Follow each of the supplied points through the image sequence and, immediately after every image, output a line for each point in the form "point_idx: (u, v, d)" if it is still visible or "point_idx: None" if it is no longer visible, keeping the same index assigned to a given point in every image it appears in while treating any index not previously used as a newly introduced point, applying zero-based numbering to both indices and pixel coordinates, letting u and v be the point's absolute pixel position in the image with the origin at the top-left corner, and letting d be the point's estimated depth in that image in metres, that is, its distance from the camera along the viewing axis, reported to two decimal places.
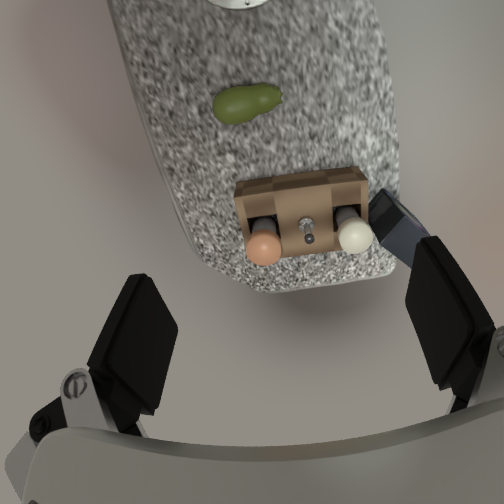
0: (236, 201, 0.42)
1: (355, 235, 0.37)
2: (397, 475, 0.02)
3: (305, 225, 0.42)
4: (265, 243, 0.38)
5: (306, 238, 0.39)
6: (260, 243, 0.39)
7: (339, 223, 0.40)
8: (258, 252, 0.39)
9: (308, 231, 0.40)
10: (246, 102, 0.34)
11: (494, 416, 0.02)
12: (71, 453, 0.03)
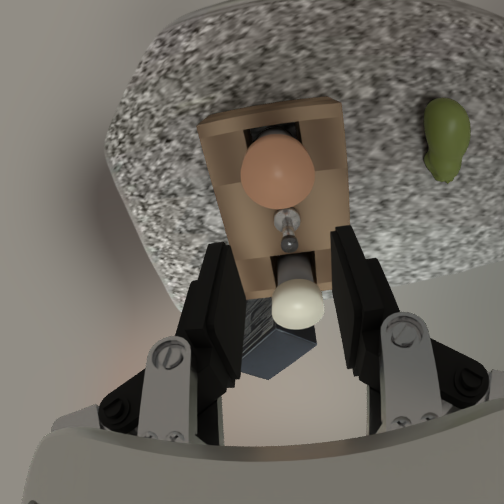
0: (333, 106, 0.20)
1: (306, 310, 0.25)
2: (396, 476, 0.02)
3: (292, 222, 0.25)
4: (299, 180, 0.18)
5: (292, 241, 0.22)
6: (299, 170, 0.17)
7: (300, 271, 0.27)
8: (276, 165, 0.17)
9: (294, 235, 0.24)
10: (459, 148, 0.22)
11: (494, 416, 0.02)
12: (71, 453, 0.03)
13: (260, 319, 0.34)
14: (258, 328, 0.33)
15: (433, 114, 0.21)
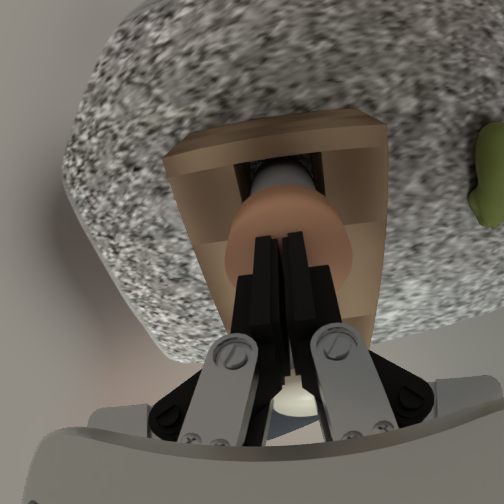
0: (375, 129, 0.13)
1: None
2: (396, 476, 0.02)
3: None
4: None
5: None
6: (327, 257, 0.10)
7: None
8: None
9: None
10: None
11: (494, 416, 0.02)
12: (71, 453, 0.03)
13: None
14: None
15: (492, 146, 0.14)
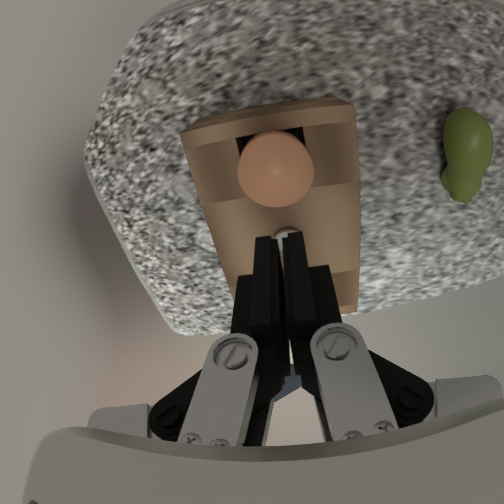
0: (344, 109, 0.16)
1: None
2: (397, 475, 0.02)
3: None
4: (297, 177, 0.17)
5: None
6: (297, 167, 0.17)
7: None
8: (274, 162, 0.17)
9: None
10: (481, 167, 0.18)
11: (494, 416, 0.02)
12: (71, 453, 0.03)
13: None
14: None
15: (455, 128, 0.18)
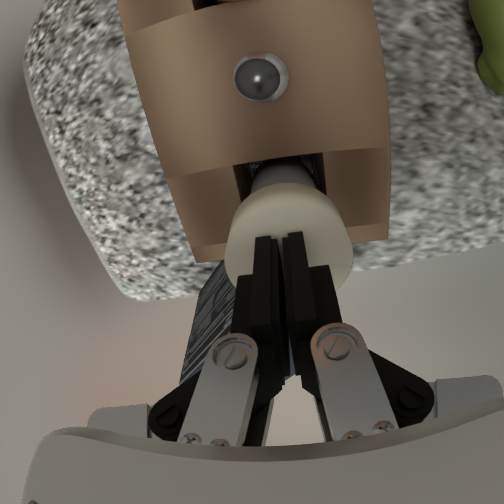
0: None
1: (308, 257, 0.10)
2: (396, 476, 0.02)
3: None
4: None
5: (264, 65, 0.07)
6: None
7: (293, 180, 0.12)
8: None
9: None
10: None
11: (494, 416, 0.02)
12: (71, 453, 0.03)
13: (225, 302, 0.19)
14: (219, 317, 0.18)
15: None
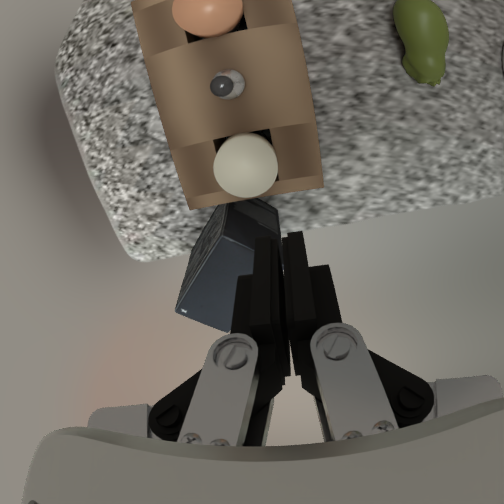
0: None
1: (254, 164, 0.20)
2: (396, 475, 0.02)
3: (232, 80, 0.17)
4: (226, 5, 0.13)
5: (224, 78, 0.15)
6: None
7: None
8: None
9: None
10: (438, 39, 0.15)
11: (494, 416, 0.02)
12: (71, 453, 0.03)
13: (209, 238, 0.26)
14: (205, 248, 0.25)
15: (401, 6, 0.15)
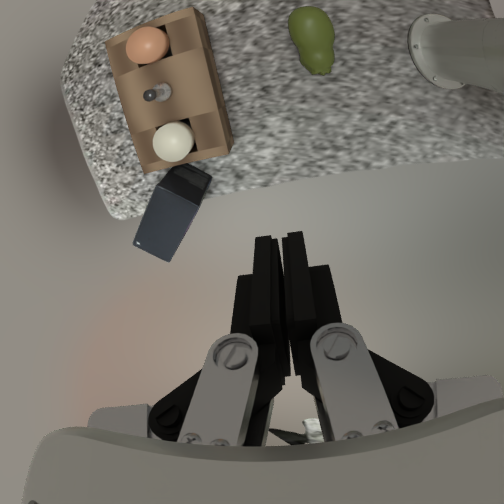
0: (187, 9, 0.23)
1: (176, 140, 0.31)
2: (396, 476, 0.02)
3: (162, 90, 0.28)
4: (155, 44, 0.24)
5: (150, 91, 0.25)
6: (155, 39, 0.23)
7: None
8: (143, 39, 0.23)
9: (158, 93, 0.27)
10: (318, 38, 0.25)
11: (494, 416, 0.02)
12: (71, 453, 0.03)
13: None
14: None
15: (290, 18, 0.25)
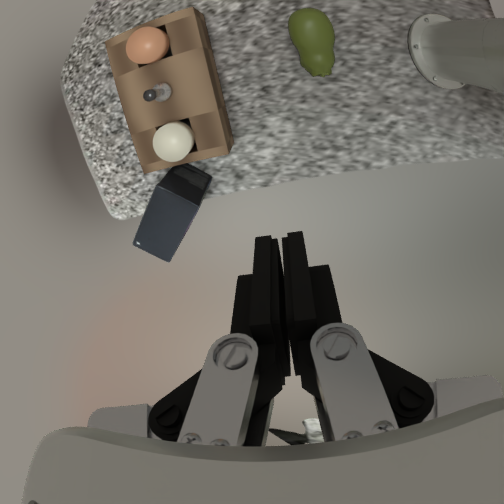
0: (187, 9, 0.23)
1: (176, 140, 0.31)
2: (396, 475, 0.02)
3: (162, 90, 0.28)
4: (155, 44, 0.24)
5: (150, 91, 0.25)
6: (155, 39, 0.23)
7: None
8: (143, 39, 0.23)
9: (158, 93, 0.27)
10: (319, 40, 0.26)
11: (494, 416, 0.02)
12: (71, 453, 0.03)
13: None
14: None
15: (290, 20, 0.25)
